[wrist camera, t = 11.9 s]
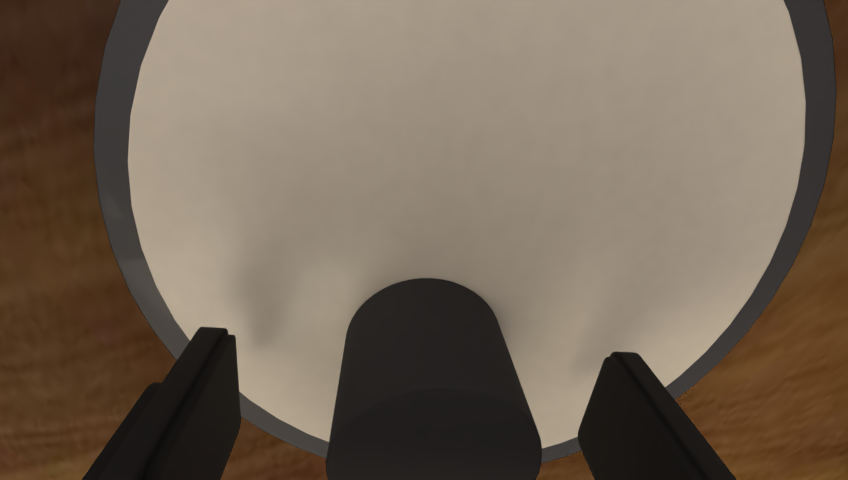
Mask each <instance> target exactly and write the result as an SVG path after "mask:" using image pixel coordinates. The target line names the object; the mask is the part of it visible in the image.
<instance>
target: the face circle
mask: <svg viewBox="0 0 848 480" xmlns="http://www.w3.org/2000/svg"><path fill="white" fill-rule="evenodd" d="M835 106H836V77H835V64H834V51H833V39H832V35H831V31H830V26H829V22H828V18H827V13H826V9H825V5H824V0H121V2H120V5H119V8H118V11H117V14H116V17H115V20H114V23H113V25H112V28H111V31H110V34H109V37H108V40H107V43H106V46H105V50H104V55H103V61H102V67H101V72H100V78H99V83H98V89H97V94H96V100H95V125H94V161H95V169H96V178H97V186H98V194H99V203H100V207H101V211H102V214H103V218H104V222H105V226H106V229H107V233H108V237H109V241H110V244H111V248H112V251H113V253H114V255H115V258H116V260H117V263H118V265H119V267H120V270H121V272H122V275H123V277H124V279H125V282H126V284H127V287H128V289H129V291H130V293H131V294H132V296H133V298H134V299H135V301H136V303H137V305H138V306H139V308H140V310H141V311H142V313H143V315H144V317H145V318H146V320H147V322H148V323H149V325H150V327H151V328H152V329H153V331H154V332H155V333H156V335H157V336H158V337H159V339H160V340H161V341H162V342H163V344H164V345H165V346H166V348H167V349H168V350H169V352H170V353H171V354H172V355H173V357H174V358H175V359H176V360H178V358H179V357H180V355H181V354H182V352H183V351H184V349H185V348H186V346H187V345H188V343H189V342H190V340H191V339H192V337H193V336H194V334H195V333H196V331H197V330H198V329H199V328H200V327H217V328H226V329H227V330H228V334H230V335H235V337H236V349H237V364H238V380H239V395H240V410H241V417H243V418H244V419H246V420H247V421H249V422H250V423H252V424H253V425H255V426H257V427H258V428H260V429H261V430H263V431H265V432H267V433H269V434H271V435H273V436H275V437H277V438H279V439H281V440H283V441H285V442H287V443H289V444H291V445H293V446H295V447H297V448H300V449H303V450H305V451H308V452H310V453H313V454H316V455H318V456H321V457H324V458H327V451H328V445H329V439H330V433H331V426H332V420H333V414H334V408H335V401H336V395H337V389H338V383H339V376H340V370H341V364H342V358H343V351H344V345H345V339H346V333H347V330H348V326H349V324H350V322H351V320H352V318H353V316H354V314H355V313H356V312H357V310H358V309H359V308H360V307H361V305H362V304H363V303H364V302H365V301H366V300H368V299H369V298H370V297H371V296H373V295H374V294H375V293H377V292H379V291H380V290H382V289H384V288H386V287H388V286H390V285H392V284H395V283H398V282H401V281H406V280H410V279H419V278H435V279H443V280H447V281H451V282H455V283H457V284H460V285H462V286H465V287H466V288H468V289H470V290H472V291H474V292H475V293H476V294H478V295H479V296H480V297H481V298H482V299H483V300H484V301H485V302H486V303H487V304H488V305H489V306H490V308H491V309H492V310H493V312H494V314H495V316H496V318H497V320H498V323H499V326H500V328H501V331H502V334H503V337H504V339H505V342H506V345H507V348H508V350H509V353H510V356H511V359H512V361H513V364H514V367H515V370H516V372H517V375H518V378H519V380H520V383H521V386H522V389H523V391H524V394H525V397H526V400H527V402H528V405H529V408H530V411H531V413H532V416H533V419H534V422H535V424H536V427H537V430H538V433H539V436H540V439H541V445H542V460H541V463H544V462H548V461H551V460H555V459H558V458H562V457H565V456H568V455H571V454H573V453H576V452H578V451H581V448H580V445H579V442H578V430H579V427H580V424H581V421H582V419H583V416H584V413H585V410H586V408H587V405H588V402H589V399H590V397H591V394H592V391H593V388H594V386H595V383H596V380H597V377H598V375H599V372H600V369H601V366H602V364H603V361H604V359H605V358H606V357H610V355H611V353H613V352H615V351H618V352H635V353H638V354H639V355H640V356H641V357H642V359H643V360H644V361H645V362H646V364H647V365H648V366H649V368H650V369H651V370H652V371H653V373H654V374H655V375H656V377H657V378H658V379H659V380H660V382H661V383H662V384H663V386H664V387H665V388H666V389H667V391H668V392H669V393H670V395H671V396H672V397H673V398H674V400H675V399H676V398H677V397H679V396H680V395H682V394H683V393H684V392H686V391H687V390H688V389H690V388H691V387H692V386H693V385H695V384H696V383H697V382H698V381H699V380H700V379H701V378H702V377H703V376H705V375H706V374H707V373H708V372H709V371H710V370H711V369H712V368H714V367H715V366H716V365H717V364H718V363H719V362H720V361H721V360H722V359H723V358H724V357H725V356H726V355H727V354H728V353H729V352H730V350H731V349H732V348H733V347H734V346H735V345H736V344H737V343H738V342H739V341H740V340H741V338H742V337H743V336H744V335H745V334H746V333H747V332H748V331H749V329H750V328H751V327H752V325H753V324H754V323H755V321H756V320H757V319H758V317H759V316H760V315H761V313H762V312H763V311H764V309H765V308H766V307H767V305H768V304H769V303H770V301H771V300H772V298H773V297H774V295H775V293H776V292H777V290H778V288H779V287H780V285H781V283H782V282H783V280H784V278H785V277H786V275H787V273H788V272H789V270H790V268H791V267H792V265H793V263H794V261H795V259H796V257H797V254H798V252H799V250H800V248H801V246H802V243H803V241H804V239H805V237H806V235H807V233H808V230H809V228H810V226H811V223H812V220H813V217H814V214H815V211H816V208H817V205H818V202H819V199H820V196H821V193H822V190H823V187H824V183H825V179H826V174H827V169H828V163H829V158H830V153H831V148H832V143H833V138H834V122H835Z"/></svg>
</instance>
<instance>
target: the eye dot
mask: <svg viewBox="0 0 848 480" xmlns="http://www.w3.org/2000/svg"><path fill="white" fill-rule="evenodd" d="M541 460H542V445H541V439H540V436H539V433H538V430H537V427H536V424H535V422H534V419H533V416H532V413H531V411H530V408H529V405H528V402H527V400H526V397H525V394H524V391H523V389H522V386H521V383H520V380H519V378H518V375H517V372H516V370H515V367H514V364H513V361H512V359H511V356H510V353H509V350H508V348H507V345H506V342H505V339H504V337H503V334H502V331H501V328H500V326H499V323H498V320H497V318H496V316H495V314H494V312H493V310H492V309H491V308H490V306H489V305H488V304H487V303H486V302H485V301H484V300H483V299H482V298H481V297H480V296H479V295H478V294H476V293H475V292H474V291H472V290H470V289H468V288H466V287H465V286H462V285H460V284H457V283H455V282H451V281H447V280H443V279H435V278H419V279H410V280H406V281H401V282H398V283H395V284H392V285H390V286H388V287H386V288H384V289H382V290H380V291H379V292H377V293H375V294H374V295H373V296H371V297H370V298H369V299H368V300H366V301H365V302H364V303H363V304H362V305H361V307H360V308H359V309H358V310H357V312H356V313H355V314H354V316H353V318H352V320H351V322H350V324H349V326H348V330H347V333H346V339H345V345H344V351H343V358H342V364H341V370H340V376H339V383H338V389H337V395H336V401H335V408H334V414H333V420H332V426H331V433H330V439H329V445H328V451H327V458H326V473H327V477H328V480H536V477H537V475H538V473H539V469H540V465H541Z"/></svg>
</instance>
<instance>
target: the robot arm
mask: <svg viewBox="0 0 848 480" xmlns="http://www.w3.org/2000/svg"><path fill="white" fill-rule="evenodd" d="M240 423H241V410H240V395H239V380H238V364H237V349H236V337H235V335H230V334H228V330H227V329H226V328H217V327H200V328H199V329H198V330H197V331H196V333H195V334H194V336H193V337H192V339H191V340H190V342H189V343H188V345H187V346H186V348H185V349H184V351H183V352H182V354H181V355H180V357H179V358H178V360H177V361H176V363H175V364H174V366H173V367H172V369H171V370H170V372H169V373H168V375H167V376H166V378H165V379H164V381H163V382H162V383H157V382H154V383H152V384H150V385H149V386H148V387H147V388H146V389H145V391H144V392H143V393H142V395H141V396H140V398H139V399H138V401H137V402H136V403H135V405H134V406H133V408H132V409H131V411H130V412H129V413H128V415H127V416H126V418H125V419H124V421H123V422H122V423H121V425H120V426H119V428H118V429H117V430H116V432H115V433H114V435H113V436H112V438H111V439H110V440H109V442H108V443H107V445H106V446H105V448H104V449H103V450H102V452H101V453H100V455H99V456H98V458H97V459H96V460H95V462H94V463H93V465H92V466H91V467H90V469H89V470H88V472H87V473H86V475H85V476H84V477H83V479H82V480H220V479H221V476H222V474H223V471H224V468H225V466H226V463H227V461H228V458H229V456H230V453H231V451H232V448H233V445H234V443H235V440H236V438H237V435H238V432H239V429H240ZM578 442H579V445H580V448H581V450H582V452H583V454H584V457H585V459H586V461H587V463H588V465H589V468H590V470H591V472H592V474H593V476H594V479H595V480H736V478H735V477H734V476H733V474H732V473H731V472H730V471H729V469H728V468H727V467H726V465H725V464H724V463H723V462H722V460H721V459H720V458H719V456H718V455H717V454H716V453H715V451H714V450H713V449H712V447H711V446H710V445H709V443H708V442H707V441H706V440H705V438H704V437H703V436H702V434H701V433H700V432H699V431H698V429H697V428H696V427H695V425H694V424H693V423H692V422H691V420H690V419H689V418H688V416H687V415H686V414H685V413H684V411H683V410H682V409H681V407H680V406H679V405H678V404H677V402H676V401H675V400H674V398H673V397H672V396H671V395H670V393H669V392H668V391H667V389H666V388H665V387H664V386H663V384H662V383H661V382H660V380H659V379H658V378H657V377H656V375H655V374H654V373H653V371H652V370H651V369H650V368H649V366H648V365H647V364H646V362H645V361H644V360H643V359H642V357H641V356H640V355H639V354H638V353H635V352H618V351H615V352H613V353H611V355H610V357H606V358H605V359H604V361H603V364H602V366H601V369H600V372H599V375H598V377H597V380H596V383H595V386H594V388H593V391H592V394H591V397H590V399H589V402H588V405H587V408H586V410H585V413H584V416H583V419H582V421H581V424H580V427H579V430H578Z"/></svg>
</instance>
